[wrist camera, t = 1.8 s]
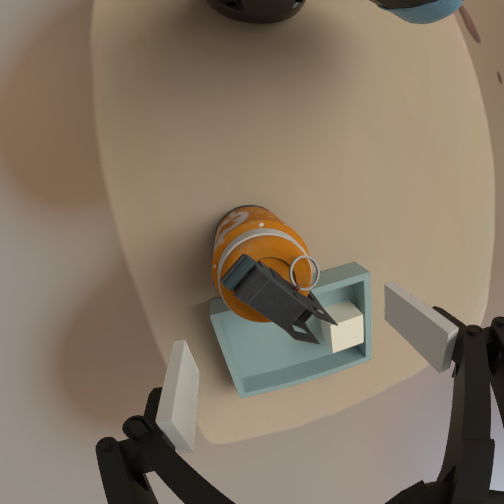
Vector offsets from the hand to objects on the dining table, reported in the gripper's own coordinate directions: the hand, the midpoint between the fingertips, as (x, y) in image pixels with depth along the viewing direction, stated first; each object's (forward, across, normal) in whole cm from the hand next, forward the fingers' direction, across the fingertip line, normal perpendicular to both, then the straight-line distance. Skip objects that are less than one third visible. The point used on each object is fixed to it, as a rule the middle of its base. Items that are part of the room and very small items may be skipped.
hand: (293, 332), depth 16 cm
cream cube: (+21, +10, -14) cm, 27 cm away
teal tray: (+22, +3, -14) cm, 26 cm away
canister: (+22, 0, 0) cm, 22 cm away
